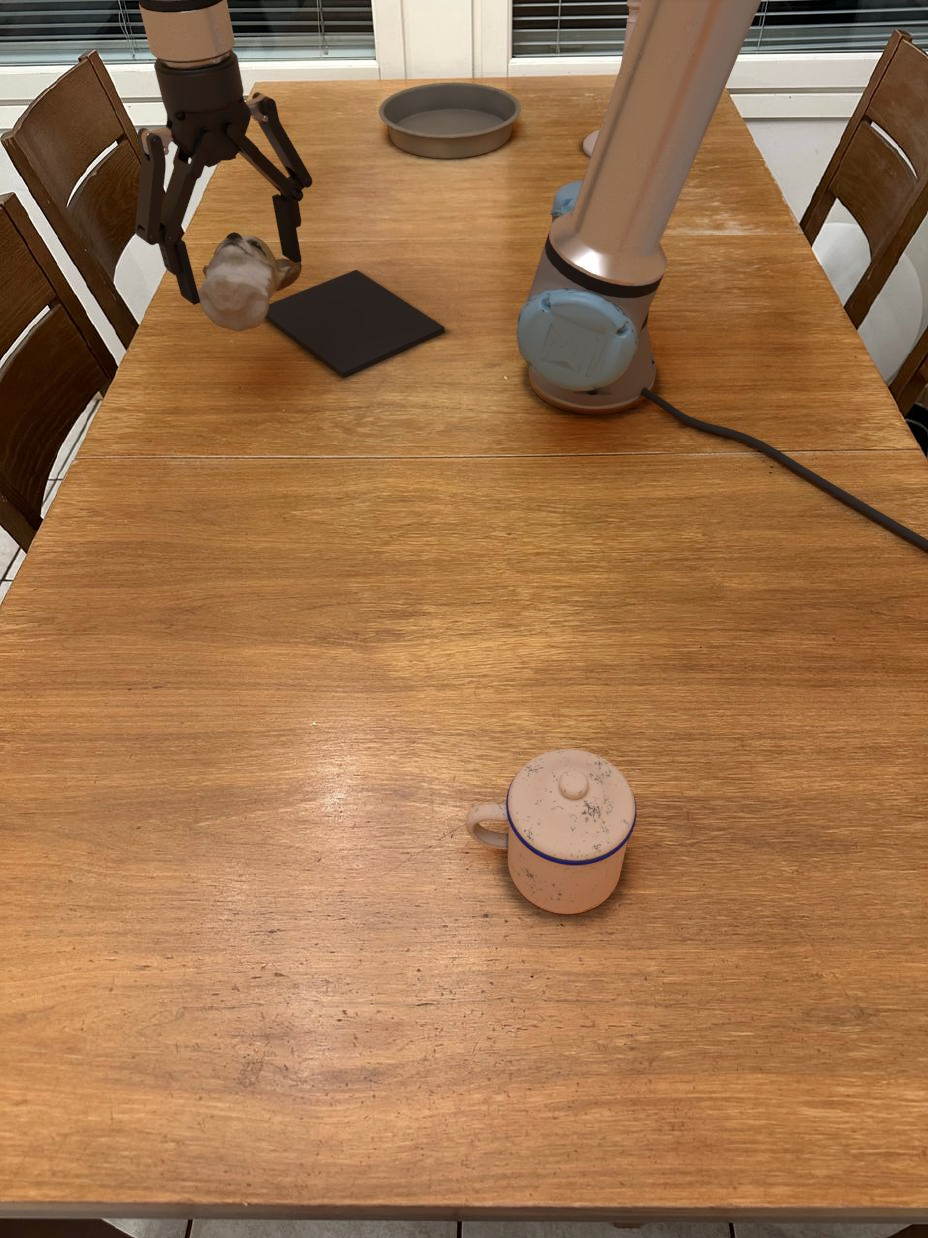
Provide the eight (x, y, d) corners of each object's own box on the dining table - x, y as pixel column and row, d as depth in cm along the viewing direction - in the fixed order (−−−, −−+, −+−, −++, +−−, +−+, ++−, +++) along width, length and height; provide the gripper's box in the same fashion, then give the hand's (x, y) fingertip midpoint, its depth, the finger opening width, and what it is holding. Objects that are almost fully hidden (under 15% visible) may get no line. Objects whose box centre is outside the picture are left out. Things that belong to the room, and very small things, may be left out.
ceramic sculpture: (163, 261, 93) (203, 203, 104) (183, 342, 99) (219, 279, 110) (270, 262, 92) (299, 203, 103) (283, 344, 98) (309, 280, 109)
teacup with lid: (621, 814, 75) (639, 729, 67) (625, 923, 69) (645, 845, 60) (471, 805, 76) (469, 719, 67) (462, 912, 70) (458, 833, 61)
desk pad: (444, 332, 123) (444, 326, 123) (343, 378, 117) (342, 372, 116) (357, 274, 134) (356, 269, 133) (259, 313, 127) (258, 308, 127)
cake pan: (545, 123, 169) (546, 96, 165) (473, 174, 155) (472, 146, 152) (430, 98, 178) (429, 71, 174) (352, 144, 164) (349, 116, 161)
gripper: (283, 14, 93) (315, 229, 109) (50, 78, 82) (124, 305, 98) (327, 31, 89) (354, 252, 105) (89, 100, 78) (158, 333, 94)
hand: (242, 278), depth 102 cm, fingers closed on ceramic sculpture, 12 cm apart
